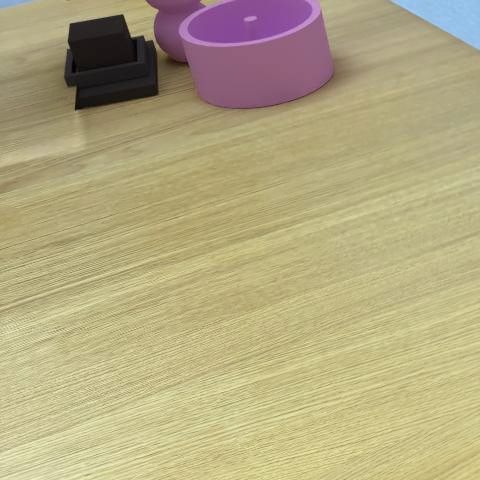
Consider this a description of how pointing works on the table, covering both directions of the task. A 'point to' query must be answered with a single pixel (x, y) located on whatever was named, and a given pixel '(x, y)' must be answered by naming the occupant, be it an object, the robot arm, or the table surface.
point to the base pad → (115, 78)
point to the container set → (247, 48)
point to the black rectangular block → (101, 43)
